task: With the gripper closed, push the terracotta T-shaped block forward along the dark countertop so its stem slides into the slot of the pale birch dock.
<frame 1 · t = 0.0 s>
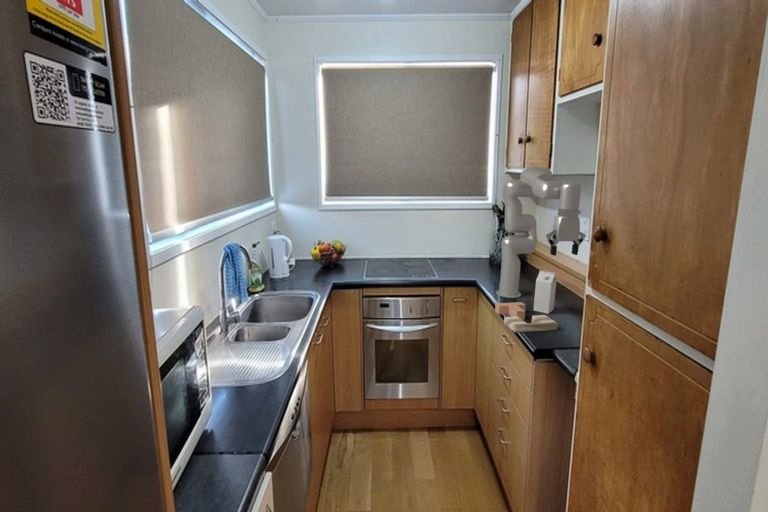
hand: (563, 254, 181), 31 cm above the countertop, tool pointing down, fingers open, 9 cm apart
dock: (530, 326, 186), on the countertop
t block: (514, 315, 199), on the countertop
milk carton: (543, 310, 206), on the countertop
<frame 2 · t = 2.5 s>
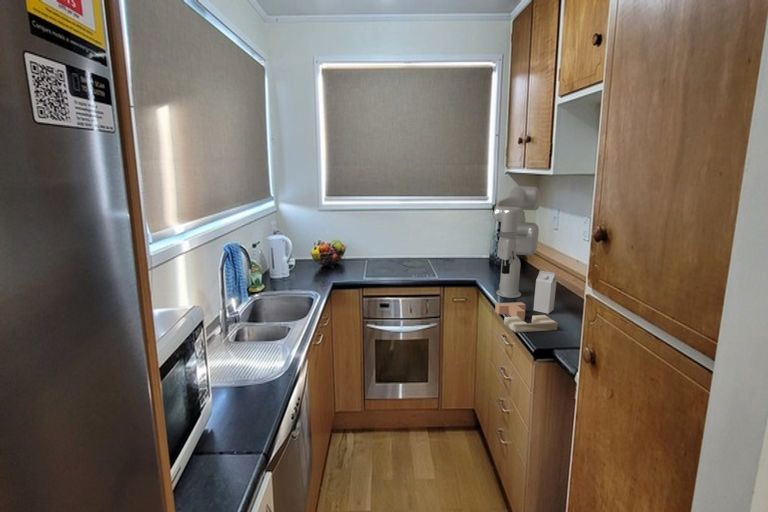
hand: (505, 273, 207), 17 cm above the countertop, tool pointing down, fingers closed
nothing on the countertop moved.
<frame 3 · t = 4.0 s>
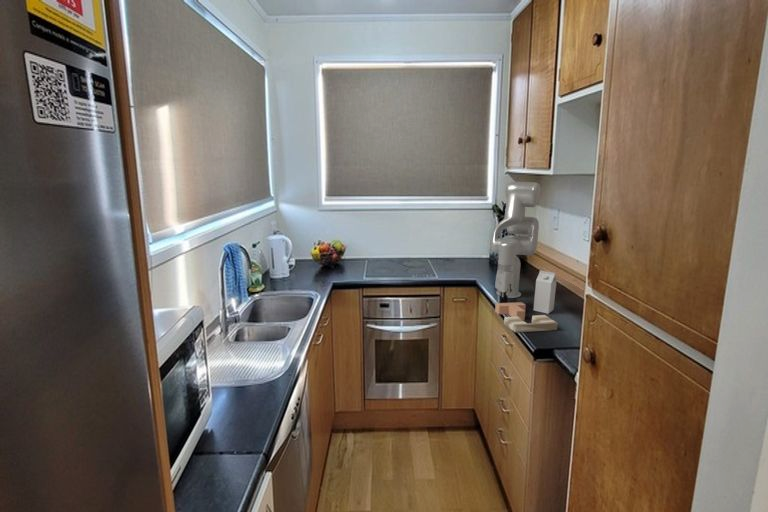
hand: (503, 304, 210), 1 cm above the countertop, tool pointing down, fingers closed
nothing on the countertop moved.
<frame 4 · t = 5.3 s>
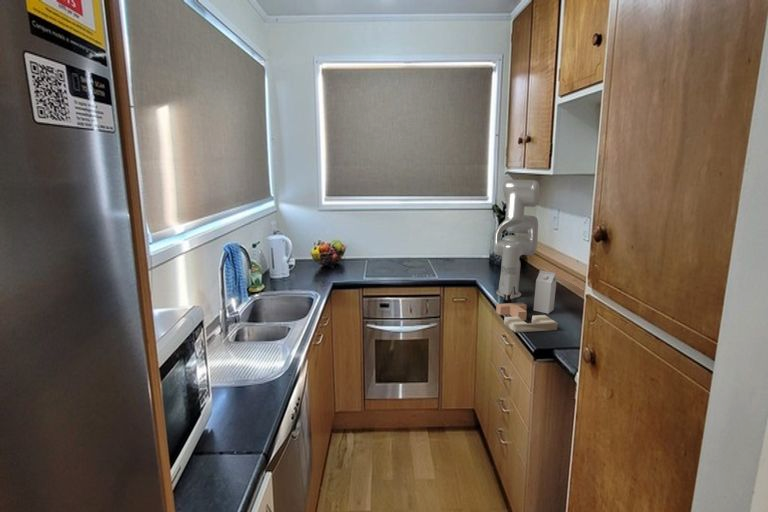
hand: (506, 307, 206), 1 cm above the countertop, tool pointing down, fingers closed
t block: (515, 315, 199), on the countertop, touching gripper
everything else where it was.
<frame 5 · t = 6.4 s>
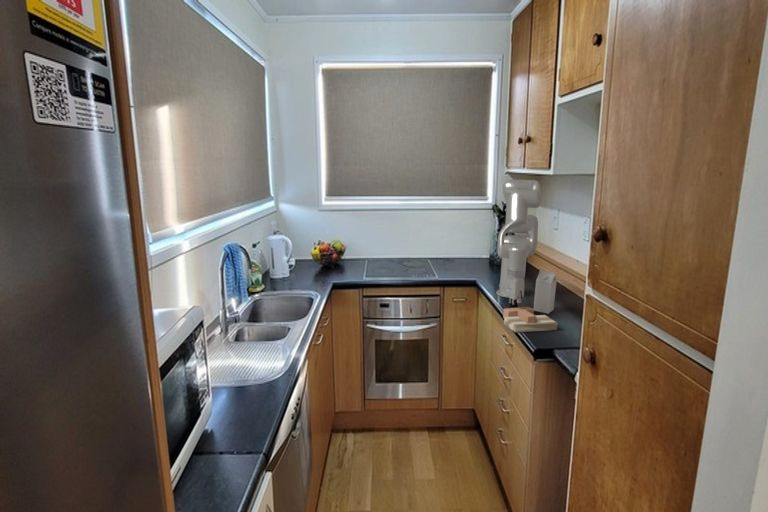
hand: (513, 311, 200), 1 cm above the countertop, tool pointing down, fingers closed
t block: (523, 320, 193), on the countertop, touching gripper
everything else where it was.
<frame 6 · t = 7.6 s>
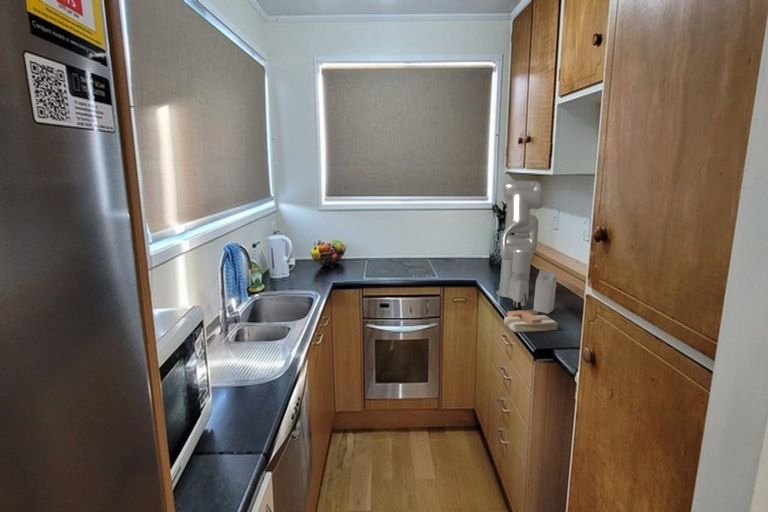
hand: (517, 314, 197), 1 cm above the countertop, tool pointing down, fingers closed
t block: (527, 323, 189), on the countertop, touching dock, gripper
everything else where it was.
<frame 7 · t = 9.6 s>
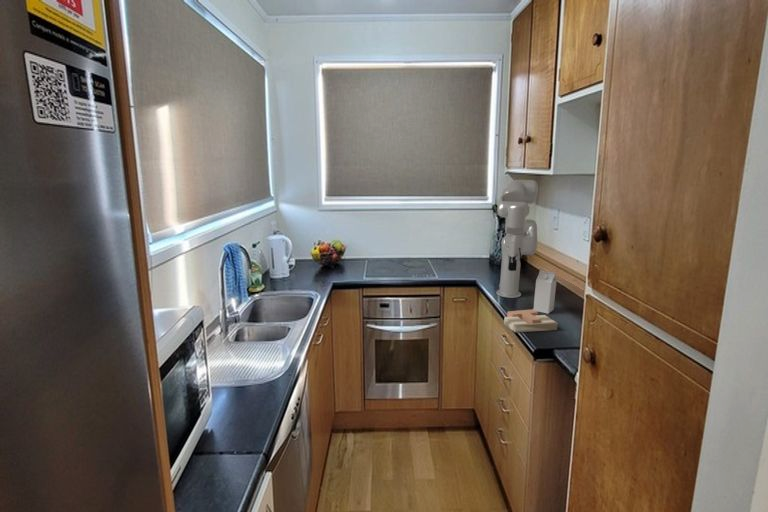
hand: (512, 270, 202), 19 cm above the countertop, tool pointing down, fingers closed
t block: (527, 323, 189), on the countertop
everything else where it was.
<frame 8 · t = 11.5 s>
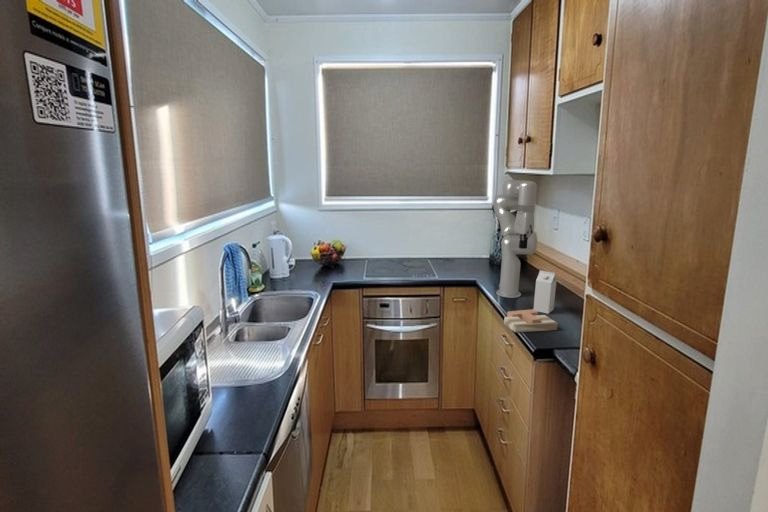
hand: (522, 248, 204), 29 cm above the countertop, tool pointing down, fingers closed
nothing on the countertop moved.
at the end: t block 0.8 cm from the target spot, on the countertop; t block tilted 0°; the gripper is holding nothing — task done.
